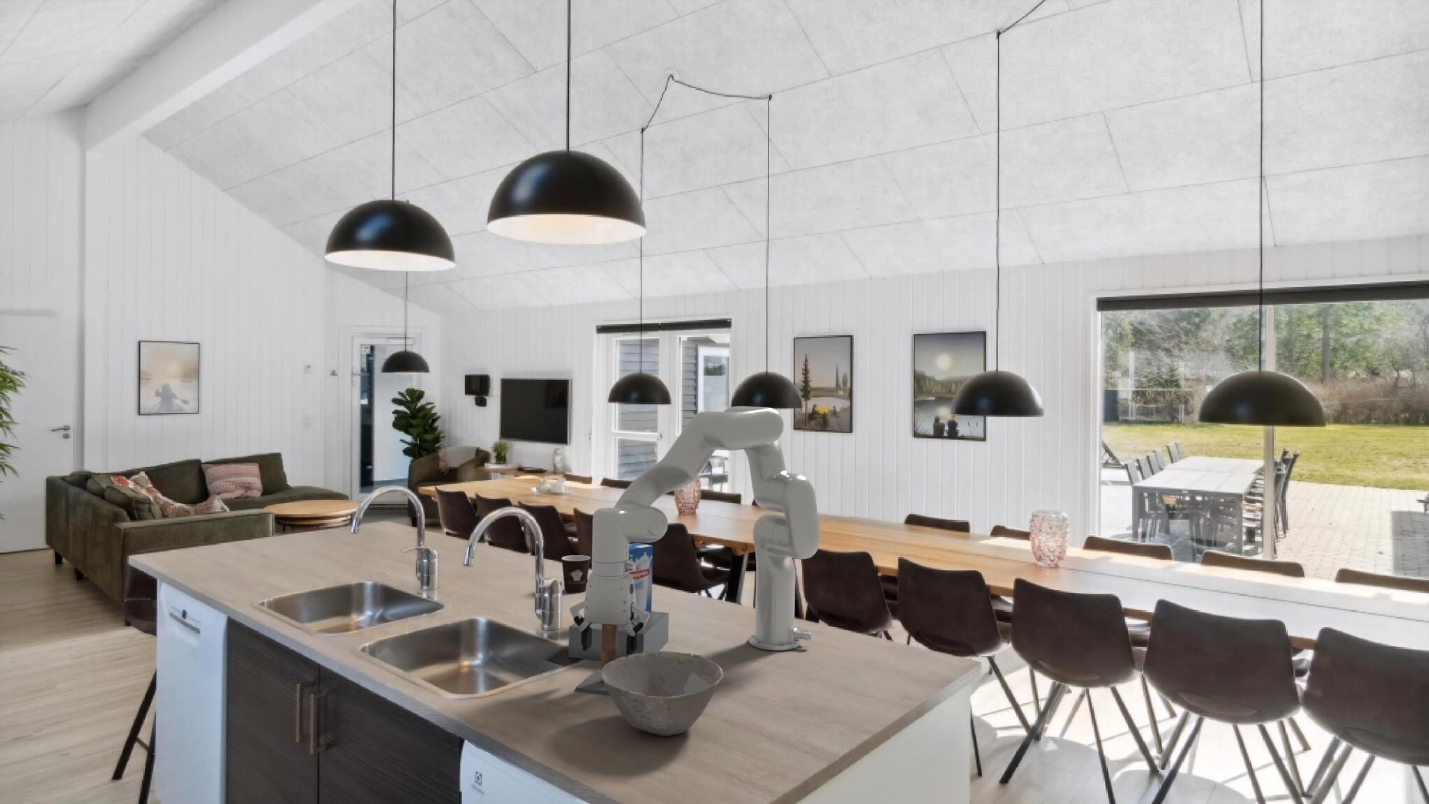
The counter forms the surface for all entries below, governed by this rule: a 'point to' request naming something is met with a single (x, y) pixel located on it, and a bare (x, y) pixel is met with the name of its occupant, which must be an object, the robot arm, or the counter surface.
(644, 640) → the box
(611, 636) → the dowel
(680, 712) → the ceramic bowl
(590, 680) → the mat
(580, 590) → the coffee mug
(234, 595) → the counter surface
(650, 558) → the milk carton
